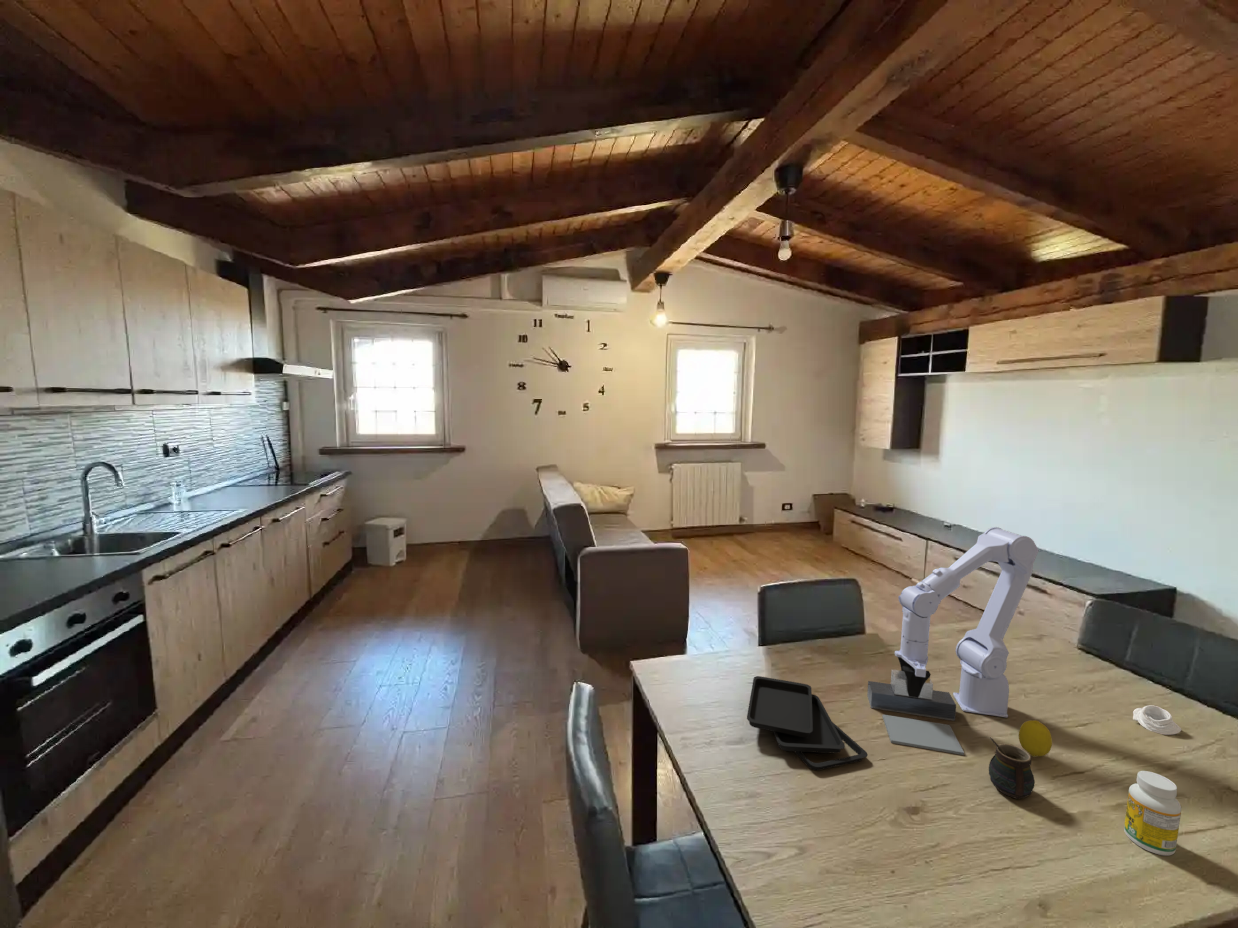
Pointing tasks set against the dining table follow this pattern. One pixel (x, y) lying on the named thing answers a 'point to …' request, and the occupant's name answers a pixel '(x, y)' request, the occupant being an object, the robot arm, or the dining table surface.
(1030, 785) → the mate gourd
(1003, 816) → the dining table surface
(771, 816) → the dining table surface
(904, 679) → the pale grey block
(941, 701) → the body
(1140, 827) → the supplement bottle
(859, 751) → the stack of dark trays
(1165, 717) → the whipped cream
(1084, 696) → the dining table surface
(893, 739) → the mat
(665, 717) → the dining table surface
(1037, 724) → the lemon
